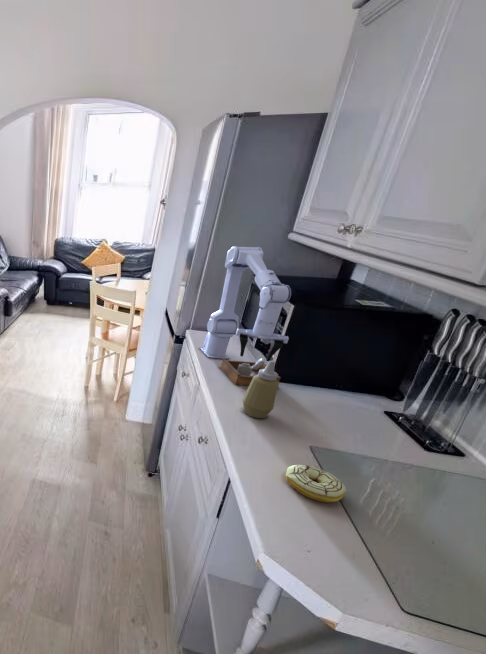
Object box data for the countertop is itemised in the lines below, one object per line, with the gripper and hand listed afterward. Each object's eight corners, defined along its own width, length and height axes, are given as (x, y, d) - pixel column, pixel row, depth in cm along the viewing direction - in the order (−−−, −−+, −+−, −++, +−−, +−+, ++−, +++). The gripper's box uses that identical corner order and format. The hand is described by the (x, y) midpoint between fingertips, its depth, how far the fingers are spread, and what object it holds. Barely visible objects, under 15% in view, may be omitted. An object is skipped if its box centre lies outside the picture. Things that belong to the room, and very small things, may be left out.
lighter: (236, 376, 145) (242, 356, 142) (235, 374, 146) (241, 354, 143) (258, 380, 142) (265, 360, 139) (258, 378, 143) (264, 359, 140)
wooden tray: (219, 367, 151) (222, 358, 150) (258, 370, 149) (261, 361, 148) (234, 384, 139) (238, 374, 137) (277, 388, 137) (280, 377, 136)
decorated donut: (298, 468, 99) (303, 456, 97) (350, 496, 90) (356, 483, 89) (274, 481, 94) (279, 468, 93) (326, 512, 86) (333, 498, 84)
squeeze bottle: (260, 407, 125) (278, 356, 118) (275, 421, 118) (295, 368, 111) (234, 405, 126) (250, 354, 119) (247, 419, 119) (265, 366, 111)
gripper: (241, 320, 130) (230, 357, 136) (295, 328, 124) (281, 366, 129) (240, 314, 136) (230, 350, 141) (291, 321, 129) (278, 359, 135)
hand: (254, 357), depth 136 cm, fingers open, 7 cm apart
